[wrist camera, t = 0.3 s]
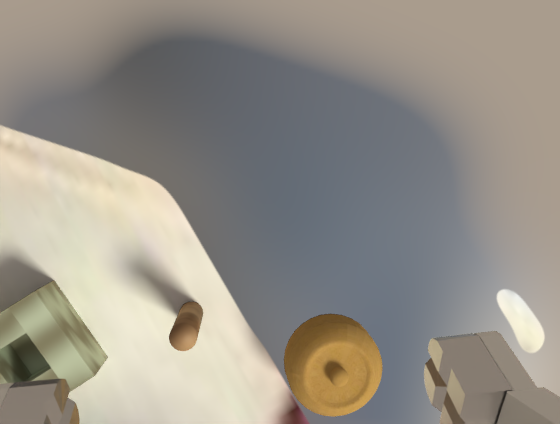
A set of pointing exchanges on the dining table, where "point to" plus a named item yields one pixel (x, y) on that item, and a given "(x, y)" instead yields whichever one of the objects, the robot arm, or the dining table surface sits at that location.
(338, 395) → the pot
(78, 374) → the socket block
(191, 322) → the dowel
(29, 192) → the dining table surface
